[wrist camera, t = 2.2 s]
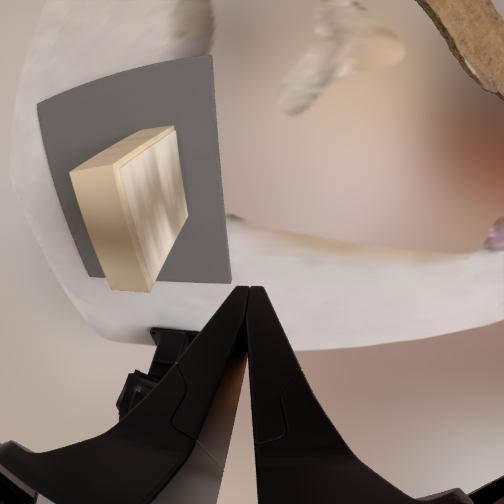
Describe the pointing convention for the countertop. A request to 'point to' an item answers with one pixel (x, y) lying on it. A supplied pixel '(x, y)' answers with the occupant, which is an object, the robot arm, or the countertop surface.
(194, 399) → the robot arm
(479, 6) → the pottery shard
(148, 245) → the cream rectangular block
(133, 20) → the countertop surface
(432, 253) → the countertop surface
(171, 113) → the mat
